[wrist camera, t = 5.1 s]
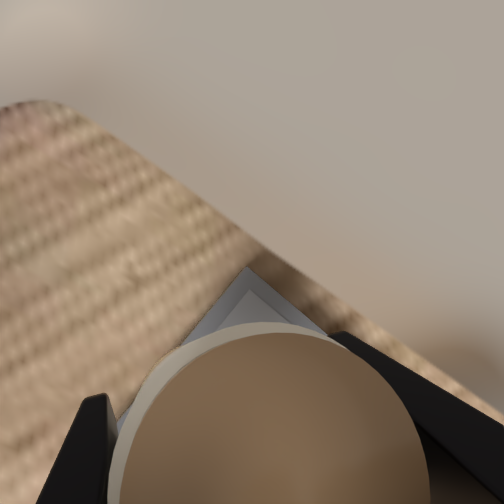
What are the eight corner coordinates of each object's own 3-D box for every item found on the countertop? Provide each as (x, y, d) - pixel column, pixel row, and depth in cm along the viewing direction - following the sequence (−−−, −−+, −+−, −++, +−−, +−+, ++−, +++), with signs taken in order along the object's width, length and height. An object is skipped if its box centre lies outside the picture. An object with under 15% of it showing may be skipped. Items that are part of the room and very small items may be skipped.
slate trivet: (419, 419, 23) (433, 424, 22) (281, 649, 20) (289, 669, 19) (242, 270, 23) (246, 265, 22) (70, 477, 20) (64, 486, 18)
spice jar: (289, 400, 16) (500, 469, 6) (205, 505, 15) (303, 804, 5) (200, 315, 16) (270, 252, 6) (108, 413, 15) (13, 527, 5)
